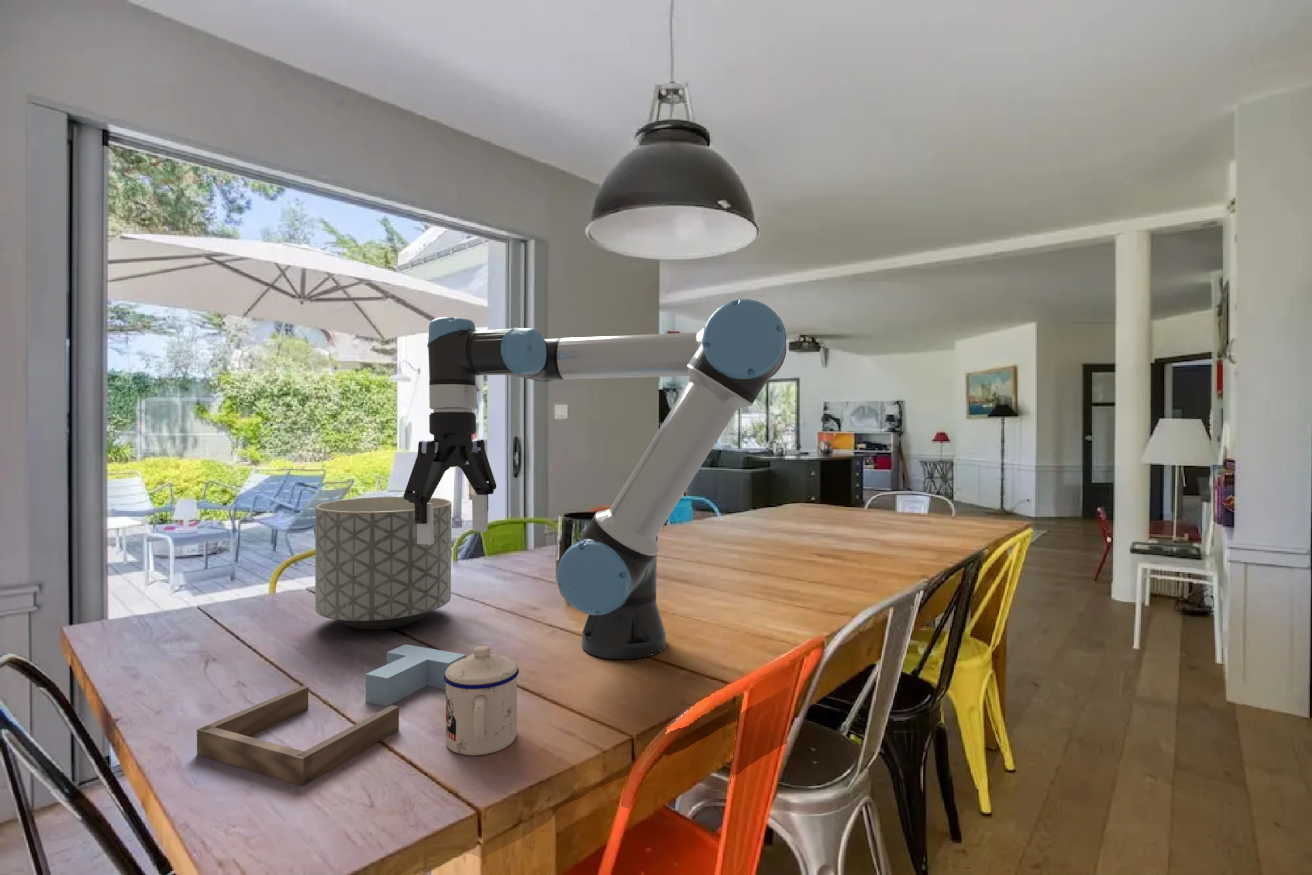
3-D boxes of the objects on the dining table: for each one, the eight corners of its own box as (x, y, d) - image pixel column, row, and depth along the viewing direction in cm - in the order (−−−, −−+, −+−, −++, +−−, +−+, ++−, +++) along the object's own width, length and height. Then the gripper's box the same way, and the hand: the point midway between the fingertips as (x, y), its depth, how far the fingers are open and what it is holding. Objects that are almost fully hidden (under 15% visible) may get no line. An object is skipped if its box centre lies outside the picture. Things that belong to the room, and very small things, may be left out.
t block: (465, 680, 100) (465, 654, 100) (409, 711, 89) (409, 682, 89) (405, 668, 104) (405, 644, 104) (344, 697, 93) (344, 669, 93)
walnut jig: (398, 729, 83) (399, 706, 83) (302, 785, 70) (302, 758, 70) (302, 706, 90) (302, 685, 90) (196, 754, 77) (196, 729, 77)
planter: (314, 650, 113) (314, 514, 112) (315, 612, 135) (316, 499, 134) (461, 631, 124) (462, 507, 124) (440, 599, 146) (440, 494, 146)
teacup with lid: (447, 726, 84) (447, 638, 84) (518, 720, 86) (518, 634, 86) (436, 774, 73) (437, 672, 73) (519, 766, 75) (519, 666, 75)
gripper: (481, 413, 121) (482, 525, 121) (377, 409, 98) (379, 548, 98) (514, 412, 118) (516, 527, 119) (416, 408, 95) (418, 551, 96)
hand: (454, 537), depth 108 cm, fingers open, 13 cm apart
